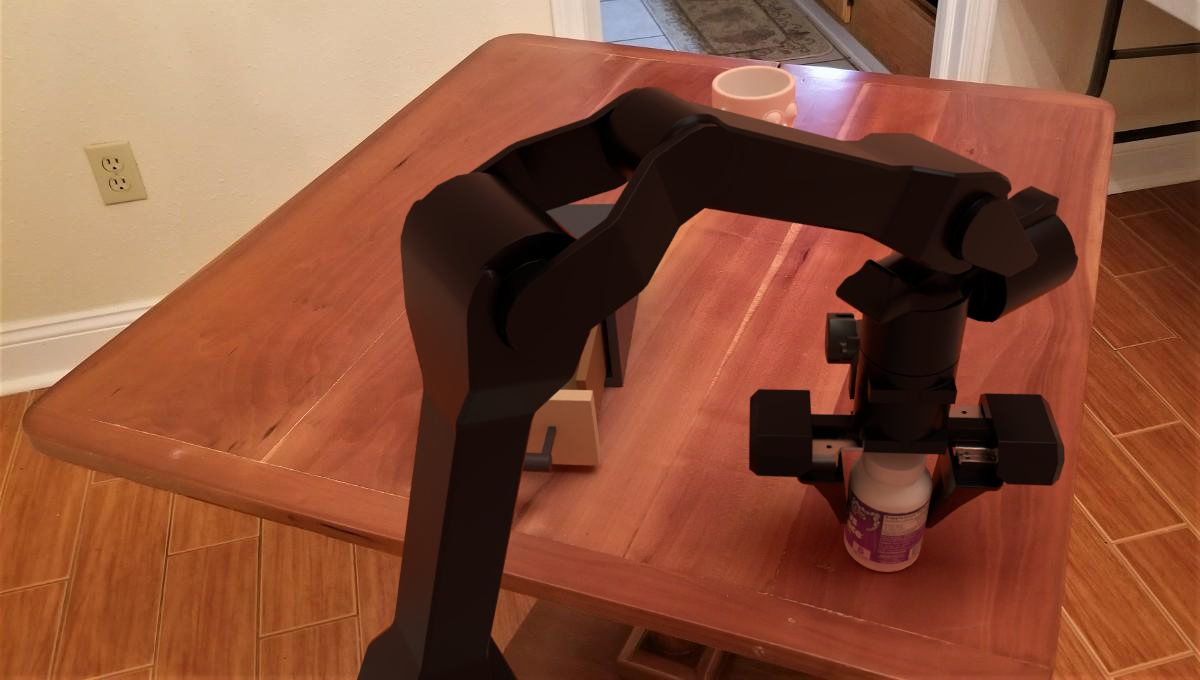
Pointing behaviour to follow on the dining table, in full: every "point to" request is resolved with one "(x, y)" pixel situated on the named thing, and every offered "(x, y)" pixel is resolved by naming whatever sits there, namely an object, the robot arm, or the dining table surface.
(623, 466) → the dining table surface
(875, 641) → the dining table surface
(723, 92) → the mug
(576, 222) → the cabinet
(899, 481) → the pill bottle
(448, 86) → the dining table surface
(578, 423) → the drawer
